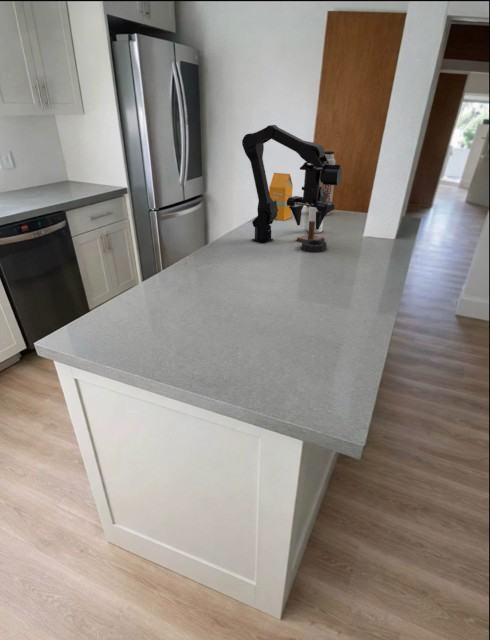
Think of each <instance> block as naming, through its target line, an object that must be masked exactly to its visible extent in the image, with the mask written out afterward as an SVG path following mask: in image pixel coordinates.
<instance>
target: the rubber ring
mask: <svg viewBox="0 0 490 640" xmlns="http://www.w3.org/2000/svg"><path fill="white" fill-rule="evenodd" d="M326 249H327V241H324V240H323V241H321V240H305V241H303V242H301V250H302V251H305V252H309V253H321V252H324V251H325V252H326Z"/></svg>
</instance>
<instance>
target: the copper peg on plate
mask: <svg viewBox="0 0 490 640" xmlns="http://www.w3.org/2000/svg"><path fill="white" fill-rule="evenodd" d="M314 229H315V221H309V230H308V229H307V234H305V235H302V236H298V237H297V238H296V241H298V242H301V243H302V242H303V241H305V240H321V241H324V240H325V237H324V236H319V235H315V233H314Z"/></svg>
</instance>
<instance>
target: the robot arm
mask: <svg viewBox="0 0 490 640" xmlns="http://www.w3.org/2000/svg"><path fill="white" fill-rule="evenodd" d="M271 140H272V141H275V142H276V143H278V144H280V145H282V146H284V147H286V148H287V149H290V150H291V151H293V152H295V153H297V154H298V155H299V157H300V159H302V160H303V161H305V162H304V163H303V164H302V165H301V166H300V167H299V170H301V171H304V181H303V186H301V191H303V192H302V196H298V195H292V197H289V198H288V200H287V206H289V208H290V209H291V214H293V217H294V220H295V223H296V225H297V226H300V225H301V219H302V210H303V208H304V206H306V207H309V208H310V207H315V208H317V210H318V211H317V212H316V230H318V229H319V227H320V225H321V223H322V221H323V222H324V219H325V217H326V216H327V215H326V214H327V213H329V212H331V213H332V211H334V210H335V202H334V201H332V202H330V201H326V200H327V197H328V193H325V192H323V191H322V187H321V186H320V181H321V182H322V183H323V185H334V187H335V186H337V187H339V186H340V184H341V182H342V178H343V170H342V164H341V163H335V165H334V164H329V162H328V160H327V158H326V156H325V152H326V151H325V147H324V145H322V144H320V143H316V142H312V141H307V140H303V139H302V138H299V137H297V136H296V135H294V134H292V133H290V132H288V131H286V130H284V129H282V128H281V127H279V126H278V125H277V124H270V125H267V126H266V127H264V128H261V129H260V130H257V131H255V132H251V133H246V134H245V135H244V136H243V138H242V141H241V145H242V148H243V151H244V154H245V156H246V157H247V158H248V160H249V162H250V166H251V170H252V175H253V176H252V177H253V181H254V184H255V190H256V194H257V198H258V203H257V210H256V211H257V216H256V217H255V218H254V219H253V220H252V221H251V224H252V226H253V228H254V238H251V241H252V242H256V243H260V244H266V243H268V242H272V241H274V238H272V225H271V224H273V223H274V220H276V219H275V218H276V217H277V211H279V210H278V208H277V202H276V200H275V201H273V200H272V199H271V197H270V194H269V184H268V179H267V174H266V169H265V165H264V157H263V156H264V149H265V147H264V145H265V144H266V143H268V142H269V141H271ZM320 201H323V202H320ZM313 204H314V205H313Z"/></svg>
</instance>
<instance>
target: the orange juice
mask: <svg viewBox="0 0 490 640" xmlns="http://www.w3.org/2000/svg"><path fill="white" fill-rule="evenodd" d="M293 188H294V185H293V180H292V177H291V174H290V173H283V172H273V175H272V177H271V181H270V184H269V185H268V189H269V194H270V197H271V199H272V200H273V201H275V200H276V202H277V208H278V210H279V211H277V217H276V218H275V219H274V220H277V221H286V220H288V219H291V217H292V211H291V209H290V208H289V206H287V200H288V198H289V197H293Z"/></svg>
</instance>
